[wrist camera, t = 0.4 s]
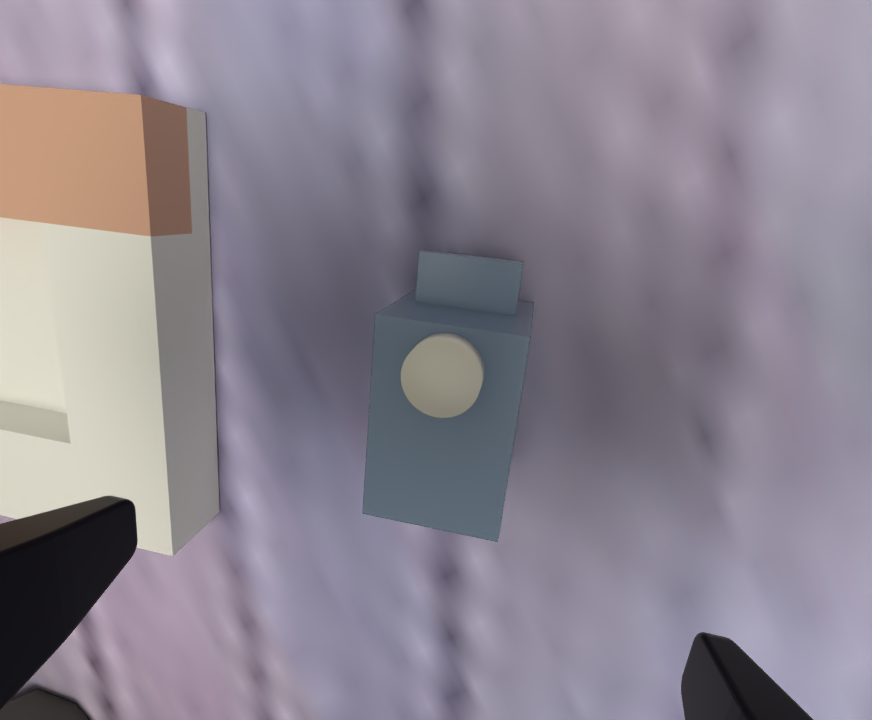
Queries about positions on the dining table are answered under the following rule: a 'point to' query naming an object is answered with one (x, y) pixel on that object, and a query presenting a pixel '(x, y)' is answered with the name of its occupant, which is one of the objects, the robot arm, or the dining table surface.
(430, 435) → the block
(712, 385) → the dining table surface
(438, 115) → the dining table surface
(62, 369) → the chassis plate
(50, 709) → the liquor
